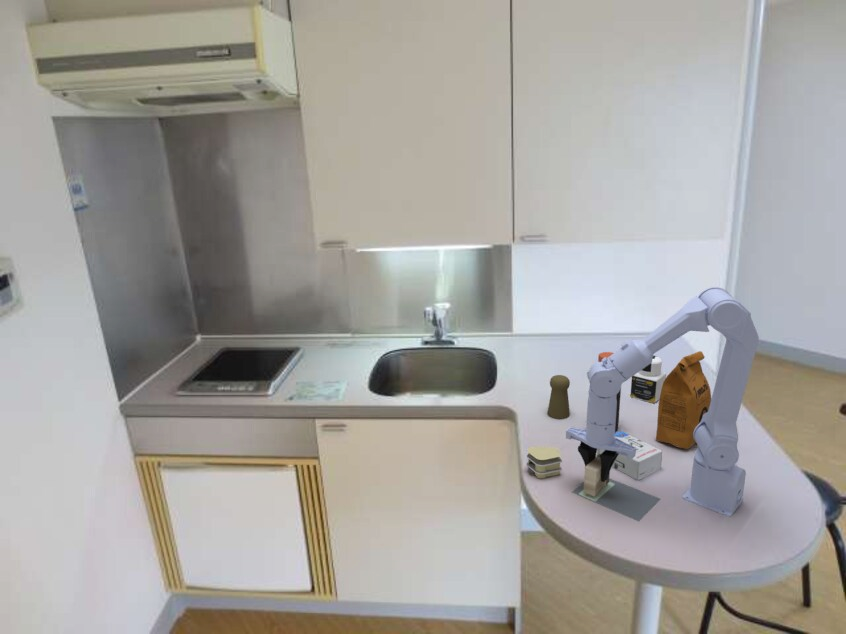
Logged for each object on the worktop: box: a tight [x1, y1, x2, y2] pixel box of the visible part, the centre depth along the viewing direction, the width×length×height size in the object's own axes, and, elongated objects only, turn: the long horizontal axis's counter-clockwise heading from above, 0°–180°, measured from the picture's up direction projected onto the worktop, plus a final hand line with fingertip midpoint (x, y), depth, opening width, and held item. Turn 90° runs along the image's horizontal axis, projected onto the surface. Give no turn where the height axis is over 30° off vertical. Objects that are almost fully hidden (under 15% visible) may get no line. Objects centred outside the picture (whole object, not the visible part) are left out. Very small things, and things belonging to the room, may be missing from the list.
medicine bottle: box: [630, 355, 667, 404], centre depth 168 cm, size 7×7×12 cm
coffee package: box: [655, 350, 712, 450], centre depth 143 cm, size 10×12×22 cm
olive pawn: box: [546, 374, 571, 420], centre depth 160 cm, size 6×6×11 cm
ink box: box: [596, 430, 663, 481], centre depth 136 cm, size 9×5×12 cm
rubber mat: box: [571, 477, 661, 522], centre depth 125 cm, size 15×10×1 cm, turn 45°
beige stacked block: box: [526, 446, 563, 479], centre depth 134 cm, size 10×9×6 cm
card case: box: [583, 454, 611, 497], centre depth 126 cm, size 7×3×6 cm, turn 139°
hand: (597, 477), depth 126 cm, fingers closed on card case, 2 cm apart
